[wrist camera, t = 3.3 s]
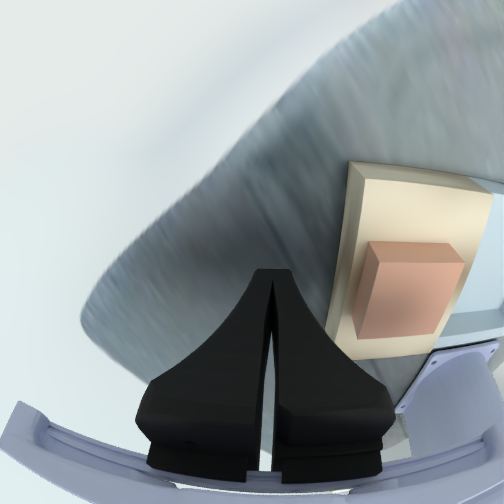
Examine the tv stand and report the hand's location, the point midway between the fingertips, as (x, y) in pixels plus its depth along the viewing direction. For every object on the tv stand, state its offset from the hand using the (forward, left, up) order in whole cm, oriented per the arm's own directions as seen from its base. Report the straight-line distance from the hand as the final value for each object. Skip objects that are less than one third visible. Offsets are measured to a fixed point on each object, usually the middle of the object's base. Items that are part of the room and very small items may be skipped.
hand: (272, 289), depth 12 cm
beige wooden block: (0, -6, -3) cm, 7 cm away
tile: (0, -6, 0) cm, 6 cm away
